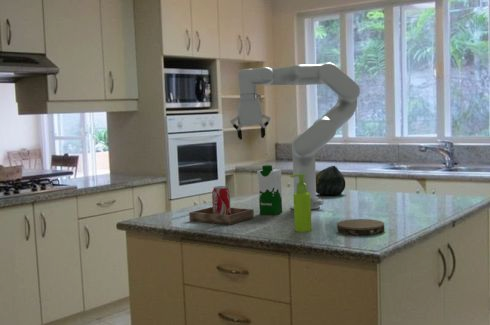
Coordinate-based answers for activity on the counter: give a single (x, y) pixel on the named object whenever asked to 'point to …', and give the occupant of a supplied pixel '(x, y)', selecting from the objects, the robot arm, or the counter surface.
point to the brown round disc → (360, 227)
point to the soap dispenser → (302, 206)
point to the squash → (330, 181)
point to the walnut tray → (221, 216)
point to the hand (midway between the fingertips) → (251, 138)
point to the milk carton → (270, 190)
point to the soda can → (221, 200)
